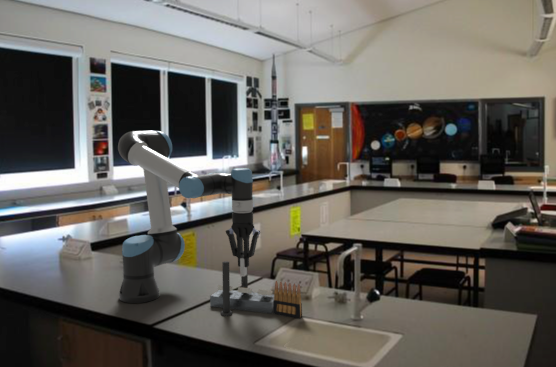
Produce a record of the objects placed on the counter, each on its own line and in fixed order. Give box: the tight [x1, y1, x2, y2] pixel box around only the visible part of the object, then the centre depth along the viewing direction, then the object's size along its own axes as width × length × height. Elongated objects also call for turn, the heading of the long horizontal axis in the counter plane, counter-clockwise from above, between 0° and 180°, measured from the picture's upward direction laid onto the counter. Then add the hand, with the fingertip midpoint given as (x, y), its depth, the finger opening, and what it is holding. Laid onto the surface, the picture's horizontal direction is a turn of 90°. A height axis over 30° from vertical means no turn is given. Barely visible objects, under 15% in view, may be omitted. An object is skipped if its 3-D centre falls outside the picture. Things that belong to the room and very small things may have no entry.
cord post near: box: [220, 260, 233, 317], centre depth 190 cm, size 4×4×19 cm
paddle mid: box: [237, 286, 253, 293], centre depth 199 cm, size 4×5×2 cm
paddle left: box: [217, 284, 233, 291], centre depth 202 cm, size 4×5×2 cm
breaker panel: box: [209, 289, 274, 315], centre depth 199 cm, size 24×9×4 cm, turn 71°
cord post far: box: [240, 250, 249, 288], centre depth 206 cm, size 4×4×19 cm
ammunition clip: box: [272, 280, 303, 320], centre depth 189 cm, size 11×2×12 cm, turn 62°
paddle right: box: [257, 288, 273, 296], centre depth 196 cm, size 4×5×2 cm
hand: (243, 275), depth 197 cm, fingers closed
